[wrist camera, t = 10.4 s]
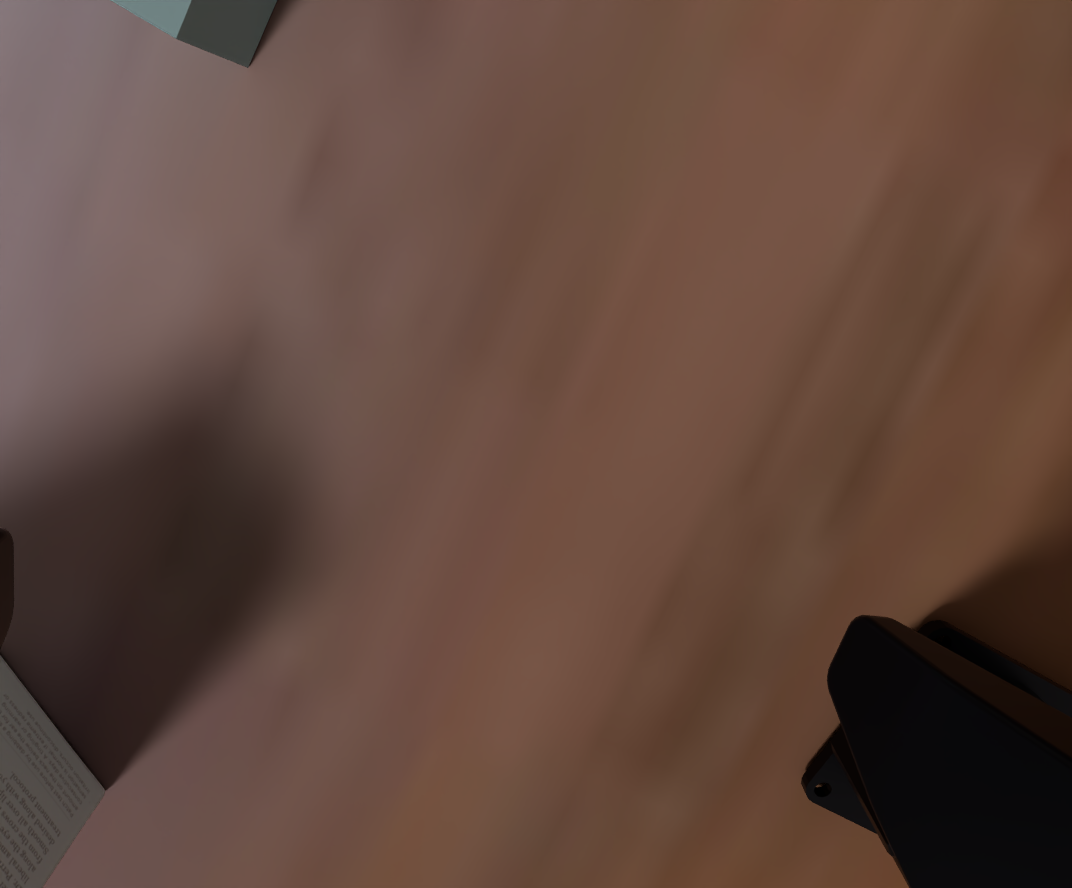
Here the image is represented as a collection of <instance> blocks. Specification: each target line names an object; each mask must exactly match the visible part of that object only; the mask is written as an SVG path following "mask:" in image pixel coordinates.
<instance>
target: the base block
mask: <svg viewBox="0 0 1072 888" xmlns="http://www.w3.org/2000/svg"><path fill="white" fill-rule="evenodd" d="M111 1H113V2H114V3H116V4H118V5H120V6H121V7H123V8H125V9H126V10H128V11H130V12H131V13H133V14H135V15H137V16H138V17H140V18H142V19H143V20H145V21H147V22H148V23H150V24H152V25H154V26H155V27H157V28H159V29H160V30H162V31H164V32H165V33H167V34H169V35H171V36H172V37H174V38H176V39H178V40H180V41H183V42H185V43H188V44H190V45H193V46H195V47H198V48H200V49H203V50H205V51H208V52H210V53H213V54H215V55H218V56H220V57H222V58H225V59H227V60H230V61H232V62H235V63H237V64H240V65H242V66H245V67H247V68H248V67H249V64H250V62H251V60H252V57H253V55H254V53H255V50H256V48H257V46H258V43H259V41H260V39H261V37H262V34H263V32H264V30H265V27H266V25H267V23H268V20H269V18H270V16H271V14H272V11H273V9H274V7H275V4H276V2H277V0H111Z"/></svg>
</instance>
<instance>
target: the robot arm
mask: <svg viewBox="0 0 1072 888" xmlns="http://www.w3.org/2000/svg"><path fill="white" fill-rule="evenodd" d="M13 607H14V548H13V540H12V536H11V534H10V533H9V532H8V531H7V530H6V529H3V528H0V649H1V646H2V644H3V642H4V639H5V637H6V634H7V632H8V629H9V626H10V623H11V619H12V614H13ZM940 636H944V639H943V640H942V641H941V642H940V643H936V642H934V640H935V639H937V638H938V637H940ZM827 683H828V689H829V693H830V695H831V698H832V701H833V703H834V706H835V709H836V712H837V714H838V717H839V720H840V722H841V725H842V727H841V728H840V729H839V730H838V732H837V733H836V734H835V735H834V737H833V738H832V739H831V741H830V742H829V743H828V745H827V746H826V747H825V748H824V750H823V751H822V752H821V753H820V755H819V756H818V757H817V758H816V759H815V761H814V762H813V763H812V764H811V766H810V767H809V768H808V769H807V771H806V772H805V773H804V775H803V777H802V781H801V784H802V786H803V789H804V791H805V793H806V795H807V797H808V799H809V800H811V801H812V802H813V803H815V804H817V805H819V806H821V807H823V808H826V809H828V810H830V811H832V812H834V813H836V814H838V815H840V816H842V817H844V818H846V819H848V820H850V821H852V822H854V823H856V824H858V825H860V826H862V827H864V828H866V829H868V830H870V831H872V832H874V833H876V834H878V836H879V838H880V839H881V841H882V843H883V845H884V847H885V849H886V851H887V852H888V853H889V854H890V855H891V856H892V857H893V859H894V860H895V862H896V864H897V866H898V868H899V870H900V871H901V873H902V875H903V877H904V879H905V881H906V882H907V884H908V886H909V888H1072V692H1071V691H1070V690H1068V689H1066V688H1064V687H1062V686H1061V685H1059V684H1057V683H1055V682H1053V681H1052V680H1050V679H1048V678H1046V677H1044V676H1043V675H1041V674H1039V673H1037V672H1035V671H1034V670H1032V669H1030V668H1028V667H1026V666H1025V665H1023V664H1021V663H1019V662H1017V661H1016V660H1014V659H1012V658H1010V657H1008V656H1007V655H1005V654H1003V653H1001V652H999V651H998V650H996V649H994V648H992V647H990V646H989V645H987V644H985V643H983V642H981V641H980V640H978V639H976V638H974V637H972V636H971V635H969V634H967V633H965V632H963V631H962V630H960V629H958V628H956V627H954V626H953V625H951V624H949V623H947V622H944V621H941V620H937V621H931V622H929V623H927V624H925V625H924V626H923V627H922V628H921V629H920V630H919V631H918V632H916V631H914V630H912V629H910V628H909V627H907V626H905V625H903V624H901V623H900V622H898V621H896V620H894V619H892V618H888V617H880V616H869V615H861V616H858V617H856V618H855V619H854V620H853V621H852V622H851V623H850V625H849V626H848V628H847V630H846V633H845V635H844V637H843V639H842V641H841V643H840V645H839V647H838V649H837V652H836V654H835V656H834V658H833V660H832V662H831V664H830V667H829V669H828V675H827ZM823 782H824V783H826V784H824V785H823V786H822V787H818V788H817V787H816V786H817V785H818V784H819V783H823Z"/></svg>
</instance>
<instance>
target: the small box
mask: <svg viewBox="0 0 1072 888" xmlns="http://www.w3.org/2000/svg"><path fill="white" fill-rule="evenodd" d="M104 794H105V790H104V788H103V786H102V785H101V784H100V783H99V781H98V780H97V779H96V778H95V776H94V775H93V774H92V773H91V771H90V770H89V769H88V768H87V766H86V765H85V764H84V763H83V761H82V760H81V759H80V758H79V756H78V755H77V754H76V753H75V751H74V750H73V749H72V748H71V746H70V745H69V744H68V742H67V741H66V740H65V739H64V737H63V736H62V735H61V733H60V732H59V731H58V729H57V728H56V727H55V726H54V724H53V723H52V722H51V720H50V719H49V718H48V716H47V715H46V714H45V713H44V711H43V710H42V709H41V707H40V706H39V705H38V703H37V702H36V701H35V700H34V698H33V697H32V696H31V694H30V693H29V692H28V690H27V689H26V688H25V687H24V685H23V684H22V683H21V681H20V680H19V679H18V677H17V676H16V675H15V674H14V672H13V671H12V670H11V668H10V667H9V666H8V664H7V663H6V662H5V661H4V659H3V658H2V657H1V655H0V888H43V886H44V885H45V883H46V882H47V880H48V879H49V877H50V876H51V874H52V873H53V871H54V870H55V868H56V867H57V865H58V863H59V862H60V860H61V859H62V857H63V856H64V854H65V853H66V851H67V850H68V848H69V847H70V845H71V844H72V842H73V841H74V839H75V838H76V836H77V835H78V833H79V832H80V830H81V829H82V827H83V826H84V824H85V823H86V821H87V820H88V818H89V817H90V816H91V814H92V813H93V811H94V810H95V808H96V807H97V805H98V804H99V803H100V801H101V799H102V798H103V796H104Z"/></svg>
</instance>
